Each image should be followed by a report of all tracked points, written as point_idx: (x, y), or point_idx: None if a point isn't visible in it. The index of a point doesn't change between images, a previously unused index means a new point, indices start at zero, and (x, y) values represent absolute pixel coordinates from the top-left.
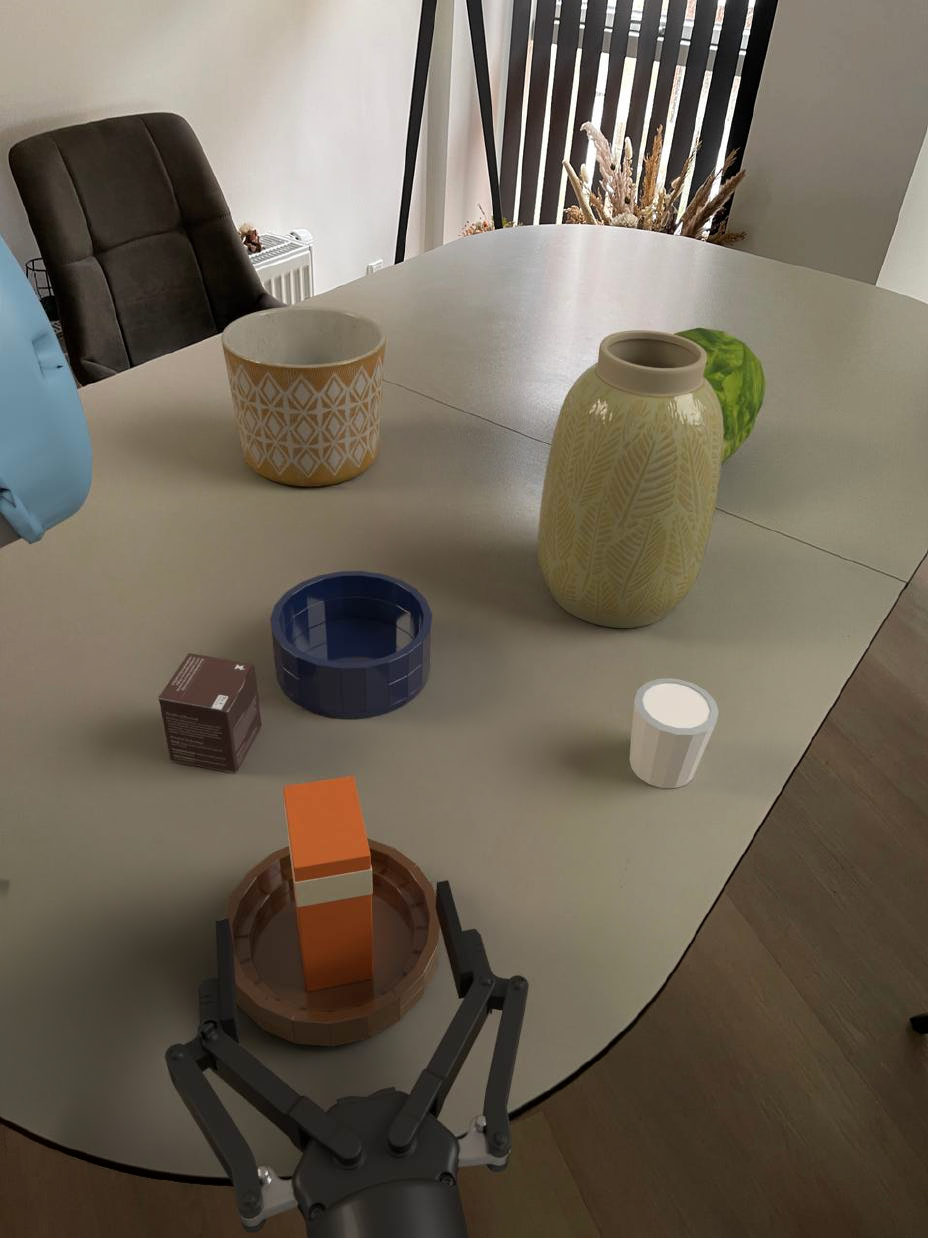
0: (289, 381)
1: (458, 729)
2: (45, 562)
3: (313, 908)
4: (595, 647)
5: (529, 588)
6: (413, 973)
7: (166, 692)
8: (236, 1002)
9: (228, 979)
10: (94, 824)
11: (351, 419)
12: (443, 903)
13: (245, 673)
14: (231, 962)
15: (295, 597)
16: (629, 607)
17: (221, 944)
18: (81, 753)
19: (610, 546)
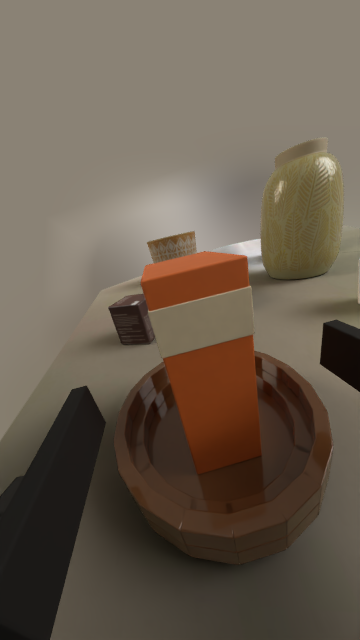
0: (166, 243)
1: (254, 313)
2: (97, 307)
3: (183, 360)
4: (302, 283)
5: (262, 279)
6: (319, 445)
7: (112, 305)
8: (81, 513)
9: (40, 476)
10: (79, 372)
11: (187, 254)
12: (353, 336)
13: None
14: (69, 442)
15: None
16: (315, 261)
17: (62, 415)
18: (86, 348)
19: (302, 231)
